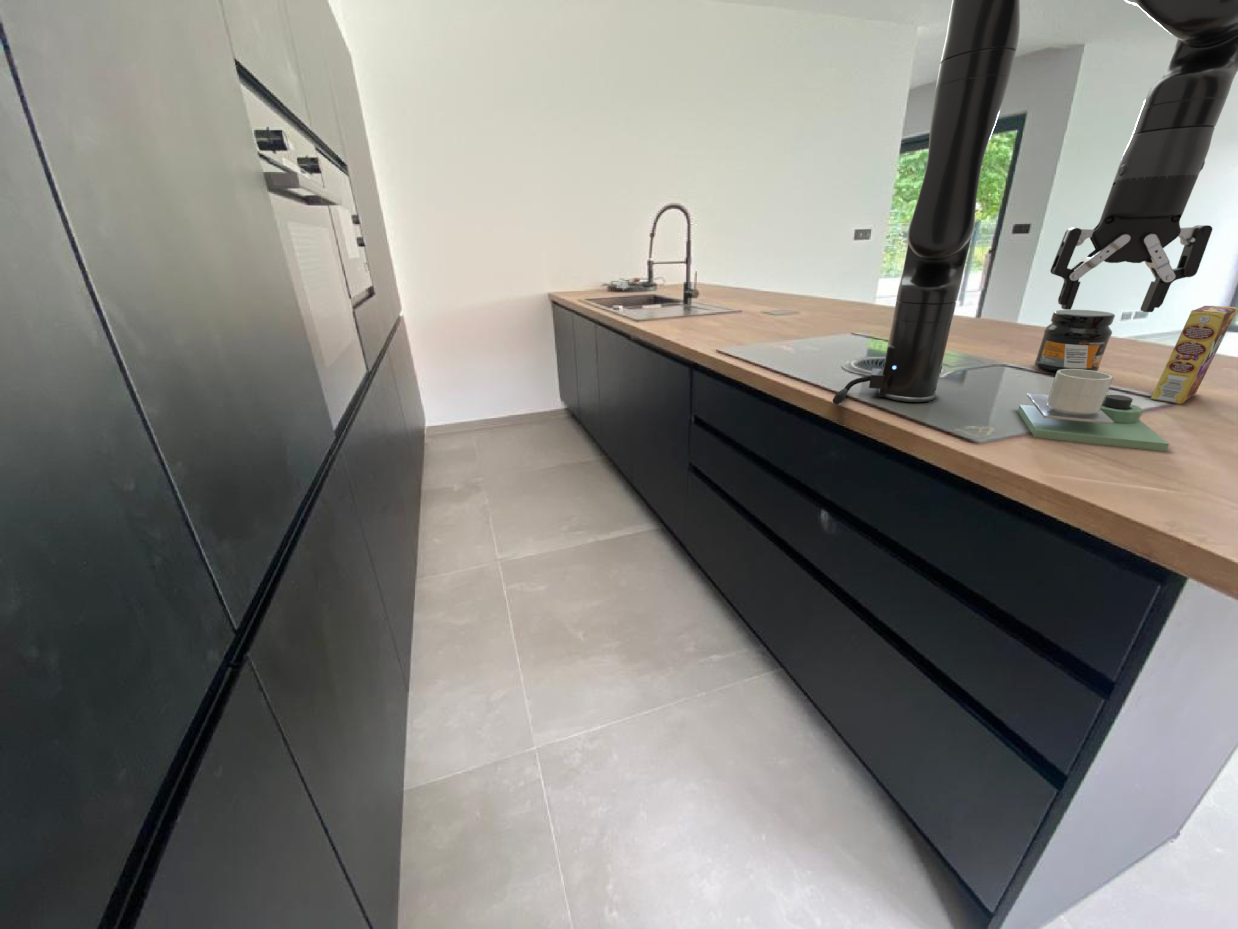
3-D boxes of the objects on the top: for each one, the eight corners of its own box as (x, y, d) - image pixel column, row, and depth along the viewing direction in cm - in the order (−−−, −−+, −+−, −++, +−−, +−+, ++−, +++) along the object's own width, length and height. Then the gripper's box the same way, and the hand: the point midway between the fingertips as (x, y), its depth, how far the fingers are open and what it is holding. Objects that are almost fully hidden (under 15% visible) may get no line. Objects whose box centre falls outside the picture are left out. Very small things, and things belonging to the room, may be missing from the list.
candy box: (1184, 405, 85) (1227, 312, 78) (1149, 399, 88) (1187, 309, 81) (1198, 395, 89) (1239, 306, 83) (1164, 390, 92) (1202, 304, 86)
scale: (1034, 437, 75) (1040, 418, 73) (1017, 410, 85) (1022, 393, 84) (1165, 451, 68) (1175, 431, 67) (1129, 420, 79) (1136, 402, 78)
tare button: (1105, 410, 77) (1110, 399, 76) (1099, 404, 79) (1103, 393, 78) (1131, 412, 75) (1136, 401, 75) (1124, 406, 78) (1128, 395, 77)
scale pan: (1043, 417, 74) (1044, 415, 73) (1026, 395, 83) (1027, 393, 83) (1112, 424, 70) (1114, 421, 70) (1087, 400, 80) (1087, 397, 80)
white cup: (1051, 413, 74) (1063, 377, 71) (1041, 402, 79) (1052, 367, 76) (1104, 418, 71) (1119, 381, 69) (1091, 406, 76) (1104, 370, 74)
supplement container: (1072, 379, 100) (1093, 318, 95) (1020, 367, 110) (1037, 311, 105) (1109, 374, 103) (1132, 313, 98) (1056, 363, 112) (1074, 307, 107)
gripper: (1220, 173, 62) (1162, 308, 69) (1074, 180, 68) (1034, 304, 75) (1254, 167, 56) (1187, 316, 63) (1091, 176, 62) (1046, 311, 69)
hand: (1104, 310), depth 69 cm, fingers open, 8 cm apart
